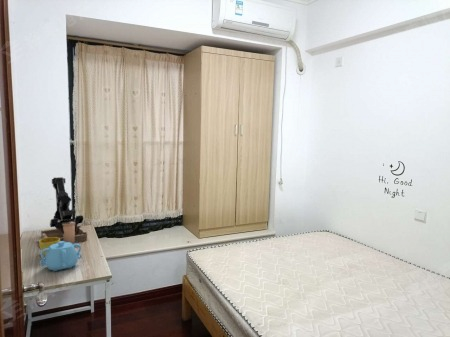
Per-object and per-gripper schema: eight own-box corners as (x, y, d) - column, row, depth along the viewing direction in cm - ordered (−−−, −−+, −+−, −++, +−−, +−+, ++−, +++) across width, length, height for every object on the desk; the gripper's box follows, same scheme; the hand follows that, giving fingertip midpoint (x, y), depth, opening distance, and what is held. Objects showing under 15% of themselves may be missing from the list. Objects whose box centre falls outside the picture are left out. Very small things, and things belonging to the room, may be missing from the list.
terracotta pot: (61, 241, 196) (61, 222, 195) (73, 239, 201) (73, 220, 199) (64, 244, 190) (63, 225, 189) (76, 242, 195) (76, 223, 194)
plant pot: (53, 260, 172) (53, 243, 171) (35, 259, 172) (35, 242, 171) (64, 253, 182) (63, 237, 181) (46, 252, 183) (46, 236, 182)
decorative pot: (62, 275, 154) (61, 249, 153) (36, 270, 158) (35, 244, 157) (85, 263, 170) (85, 239, 168) (61, 259, 174) (60, 235, 173)
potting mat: (59, 245, 195) (59, 244, 195) (76, 242, 202) (76, 241, 202) (62, 249, 188) (62, 249, 188) (80, 246, 194) (80, 246, 194)
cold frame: (41, 239, 204) (41, 231, 203) (80, 233, 219) (80, 225, 219) (46, 247, 191) (46, 237, 191) (87, 239, 207) (87, 231, 206)
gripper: (50, 206, 190) (54, 228, 183) (82, 203, 202) (87, 223, 195) (48, 216, 197) (52, 237, 190) (79, 212, 209) (84, 232, 202)
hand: (69, 232), depth 194 cm, fingers closed on terracotta pot, 7 cm apart
